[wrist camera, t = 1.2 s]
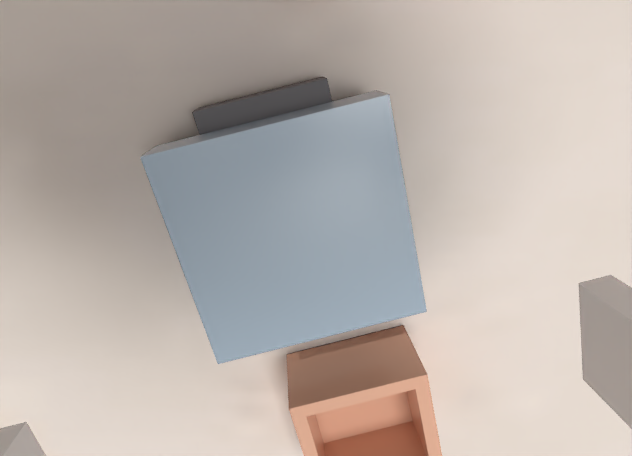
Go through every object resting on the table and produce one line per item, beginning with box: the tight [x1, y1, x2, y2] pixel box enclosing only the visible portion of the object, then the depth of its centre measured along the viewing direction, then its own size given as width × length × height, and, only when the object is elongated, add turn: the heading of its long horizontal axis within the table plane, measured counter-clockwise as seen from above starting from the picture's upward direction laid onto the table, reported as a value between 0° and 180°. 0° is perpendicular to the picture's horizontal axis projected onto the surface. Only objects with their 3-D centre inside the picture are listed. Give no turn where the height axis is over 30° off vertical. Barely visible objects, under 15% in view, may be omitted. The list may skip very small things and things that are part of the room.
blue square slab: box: [140, 91, 427, 364], centre depth 21 cm, size 10×10×2 cm
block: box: [192, 77, 332, 135], centre depth 23 cm, size 12×6×2 cm, turn 13°
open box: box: [287, 326, 442, 456], centre depth 26 cm, size 7×7×4 cm
